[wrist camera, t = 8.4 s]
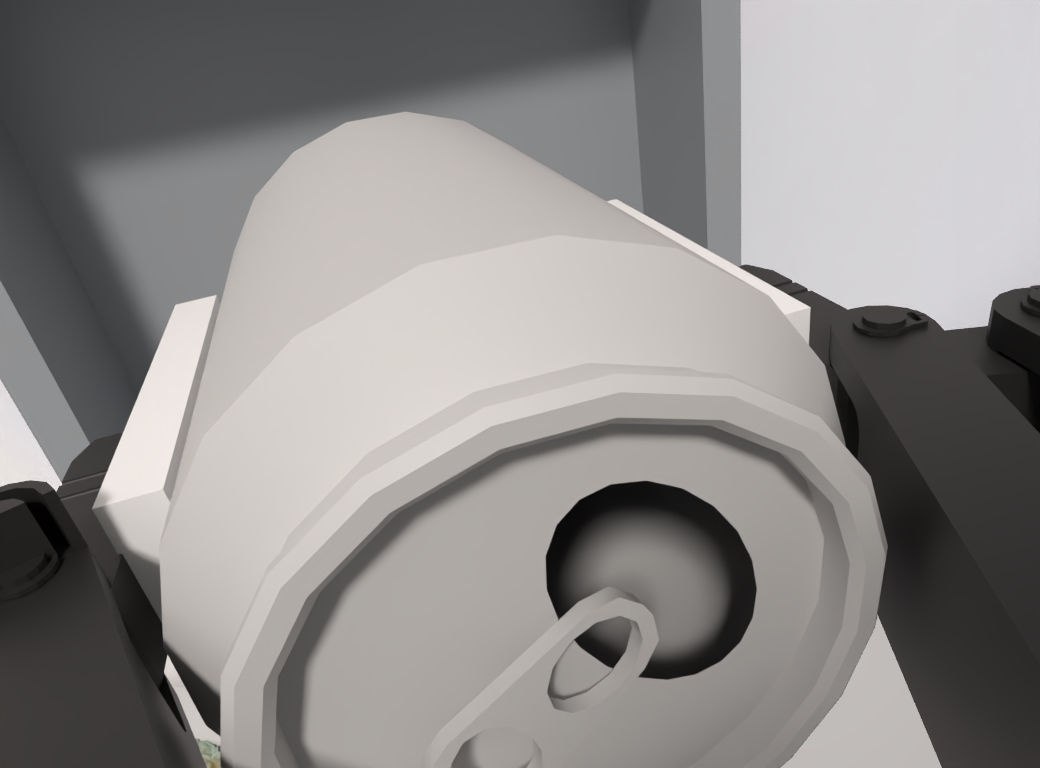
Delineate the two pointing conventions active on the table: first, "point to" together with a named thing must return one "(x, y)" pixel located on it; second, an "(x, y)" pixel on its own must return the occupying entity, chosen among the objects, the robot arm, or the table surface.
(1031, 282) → the table surface
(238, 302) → the can
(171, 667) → the plated food
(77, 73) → the bin
